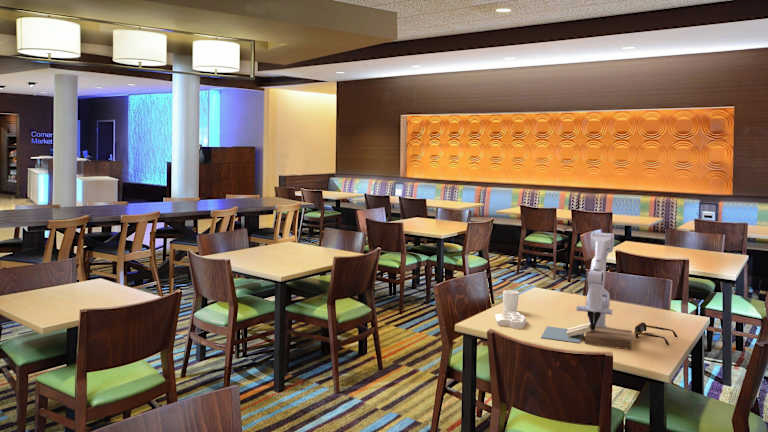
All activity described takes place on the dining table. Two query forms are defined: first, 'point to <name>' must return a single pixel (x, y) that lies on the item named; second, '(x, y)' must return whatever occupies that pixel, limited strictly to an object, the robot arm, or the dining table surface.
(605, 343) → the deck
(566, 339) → the mat
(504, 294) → the white cup
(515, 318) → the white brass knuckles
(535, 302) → the dining table surface
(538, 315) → the dining table surface
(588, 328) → the cream rectangular block
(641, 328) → the sunglasses
